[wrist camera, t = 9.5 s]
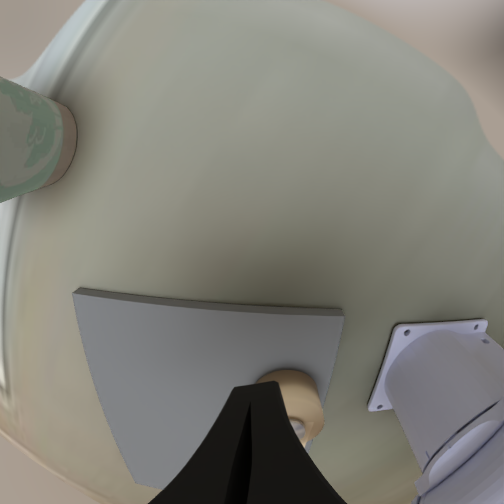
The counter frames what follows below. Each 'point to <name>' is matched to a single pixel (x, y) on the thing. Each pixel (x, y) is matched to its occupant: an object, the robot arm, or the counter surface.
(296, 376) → the link
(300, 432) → the pintle
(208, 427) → the board
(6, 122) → the coffee cup
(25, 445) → the counter surface
